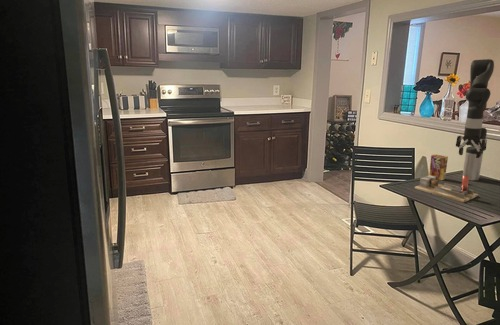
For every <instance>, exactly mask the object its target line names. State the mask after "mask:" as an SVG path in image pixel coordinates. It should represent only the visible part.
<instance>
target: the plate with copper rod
mask: <svg viewBox="0 0 500 325" xmlns="http://www.w3.org/2000/svg"><path fill="white" fill-rule="evenodd" d="M462 176H463V178H462V180H461V186H458V185H457V186H458V187H455V188H452V189H451V190H452V191H455V192H459V193H463V194H465V195H468V194H469V189H470V188H468V187H469V181H470V180H469V176H466V175H463V174H462Z"/></svg>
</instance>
